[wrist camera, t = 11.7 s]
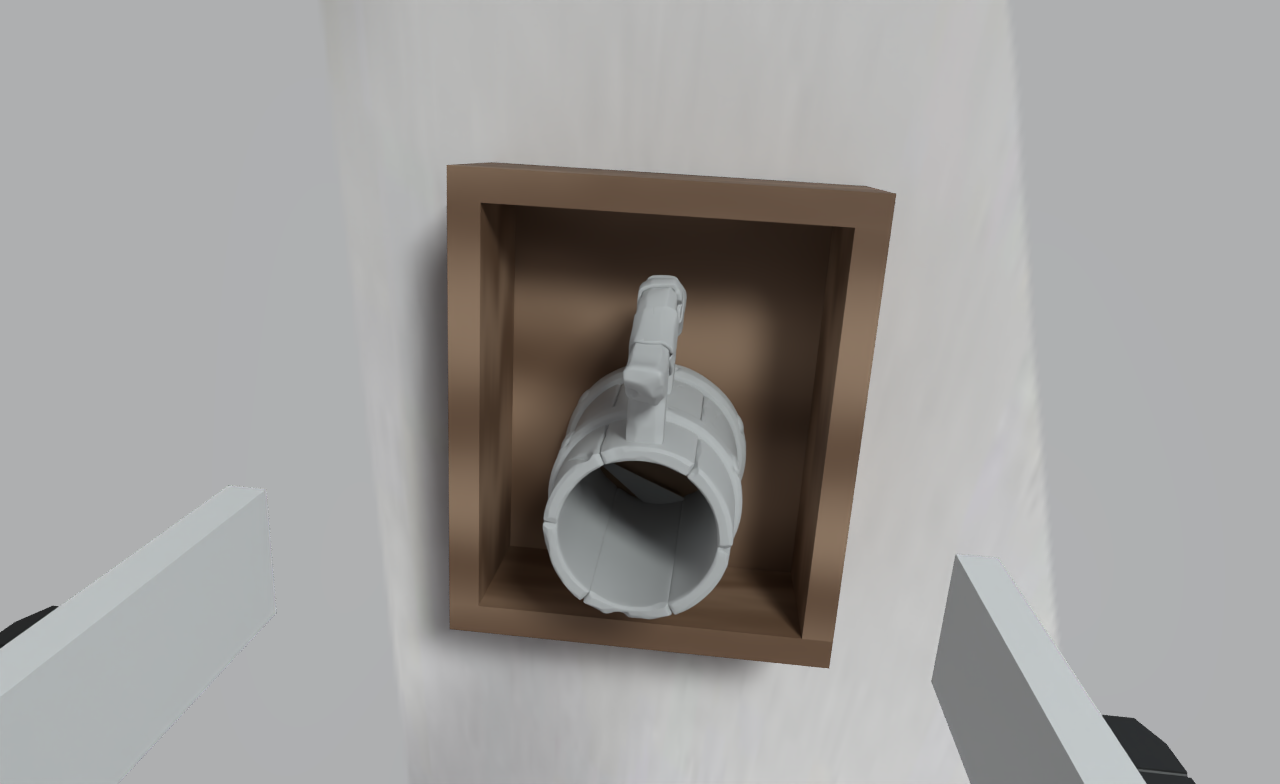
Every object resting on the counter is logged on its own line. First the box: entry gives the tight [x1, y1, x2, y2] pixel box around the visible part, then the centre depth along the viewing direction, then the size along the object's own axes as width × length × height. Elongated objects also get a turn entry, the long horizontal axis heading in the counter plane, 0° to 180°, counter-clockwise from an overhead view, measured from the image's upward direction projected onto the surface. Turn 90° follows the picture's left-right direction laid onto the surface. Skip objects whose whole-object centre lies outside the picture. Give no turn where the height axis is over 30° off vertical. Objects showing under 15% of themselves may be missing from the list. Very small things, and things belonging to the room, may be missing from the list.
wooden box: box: [447, 162, 896, 668], centre depth 34 cm, size 18×15×6 cm
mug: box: [543, 275, 746, 619], centre depth 31 cm, size 8×12×12 cm, turn 177°
